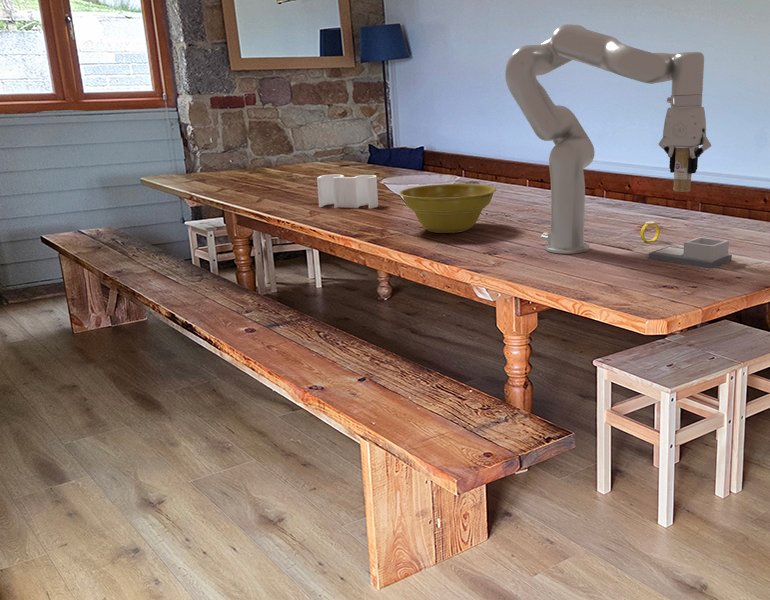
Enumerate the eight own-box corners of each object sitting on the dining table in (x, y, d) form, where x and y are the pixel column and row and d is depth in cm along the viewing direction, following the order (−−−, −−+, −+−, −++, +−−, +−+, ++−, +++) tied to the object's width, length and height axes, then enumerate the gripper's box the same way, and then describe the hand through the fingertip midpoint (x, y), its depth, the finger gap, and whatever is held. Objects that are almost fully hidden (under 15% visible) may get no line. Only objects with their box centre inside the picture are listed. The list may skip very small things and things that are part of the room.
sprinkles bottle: (669, 191, 218) (671, 140, 214) (679, 189, 221) (681, 138, 217) (684, 192, 214) (687, 141, 211) (694, 190, 217) (697, 139, 213)
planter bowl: (428, 218, 296) (427, 181, 292) (511, 223, 279) (511, 184, 276) (383, 236, 269) (381, 195, 266) (471, 242, 253) (470, 199, 249)
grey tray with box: (648, 258, 223) (649, 238, 222) (669, 251, 230) (670, 232, 229) (711, 268, 210) (712, 247, 209) (731, 260, 217) (732, 240, 216)
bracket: (382, 204, 329) (380, 174, 326) (372, 209, 321) (370, 178, 317) (327, 203, 339) (325, 174, 336) (316, 207, 331) (314, 177, 327)
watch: (644, 244, 241) (644, 224, 239) (638, 242, 244) (638, 223, 242) (661, 240, 243) (661, 221, 241) (655, 239, 245) (655, 219, 244)
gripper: (649, 103, 215) (646, 172, 220) (710, 102, 203) (706, 176, 208) (664, 101, 220) (661, 169, 225) (724, 100, 207) (720, 172, 212)
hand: (683, 171), depth 216 cm, fingers closed on sprinkles bottle, 4 cm apart
